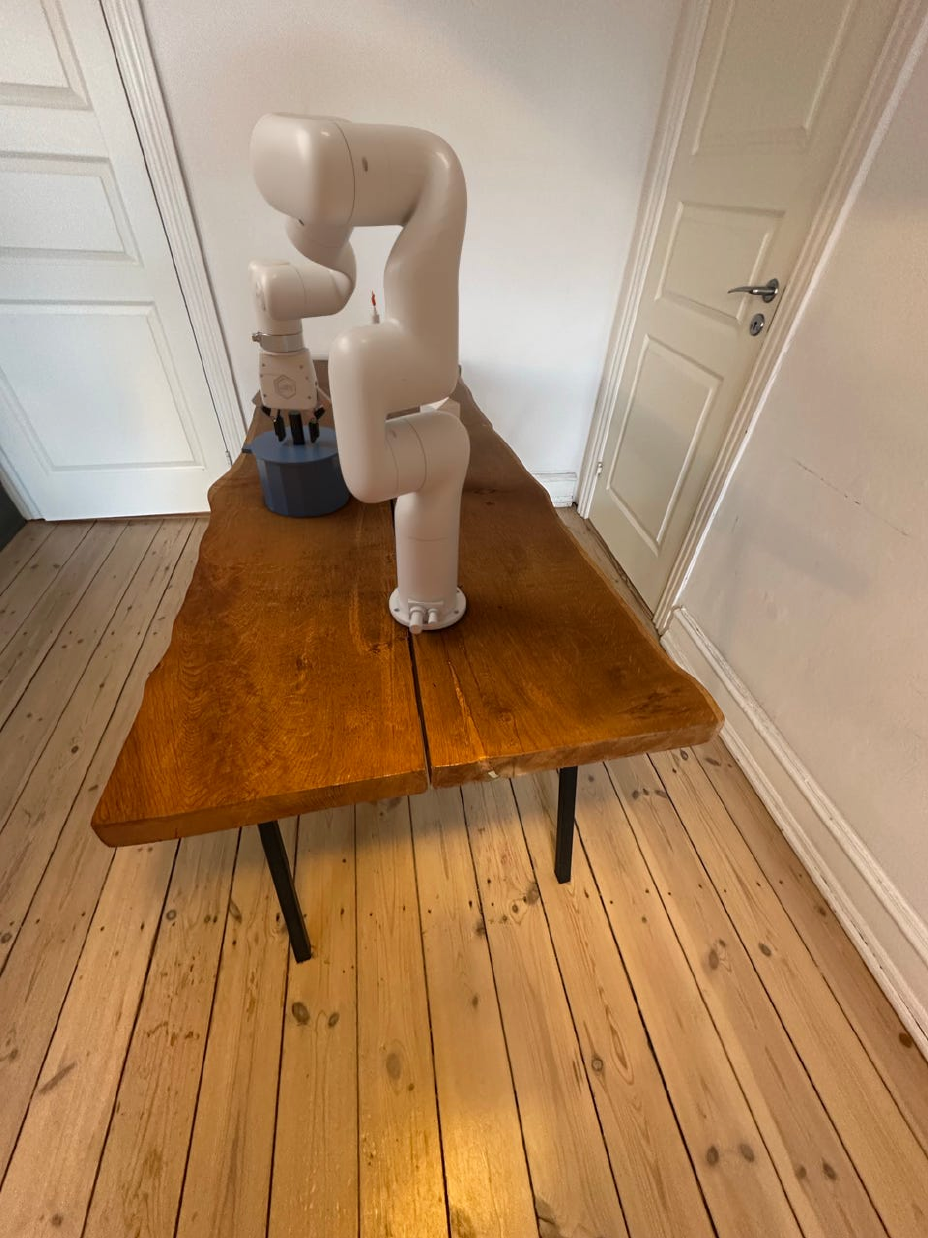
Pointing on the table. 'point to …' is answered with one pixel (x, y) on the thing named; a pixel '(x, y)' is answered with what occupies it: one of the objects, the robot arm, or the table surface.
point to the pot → (302, 486)
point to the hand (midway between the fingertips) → (298, 438)
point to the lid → (295, 444)
